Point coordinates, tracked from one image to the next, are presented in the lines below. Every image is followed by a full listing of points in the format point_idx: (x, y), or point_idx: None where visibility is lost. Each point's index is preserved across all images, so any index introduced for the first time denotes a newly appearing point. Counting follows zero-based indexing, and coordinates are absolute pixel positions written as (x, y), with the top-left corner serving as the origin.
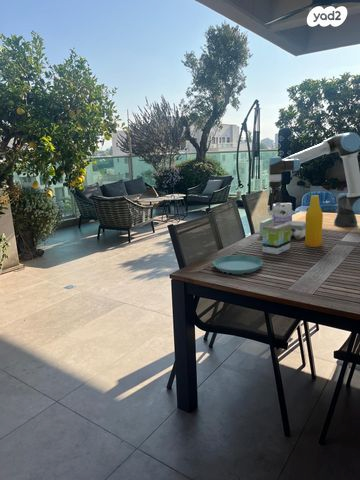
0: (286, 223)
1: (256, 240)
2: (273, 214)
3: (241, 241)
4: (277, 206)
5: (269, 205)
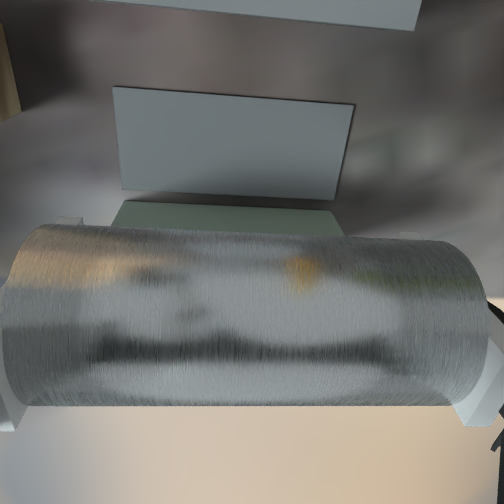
0: (314, 1)
1: (465, 220)
2: (412, 238)
3: (493, 295)
4: (301, 293)
5: (492, 421)
